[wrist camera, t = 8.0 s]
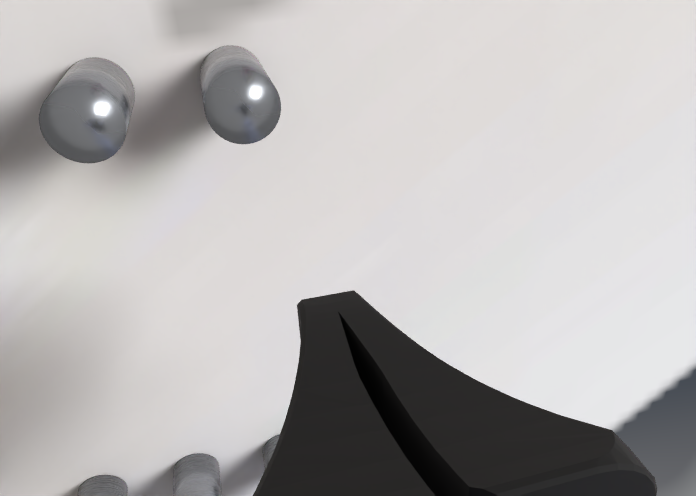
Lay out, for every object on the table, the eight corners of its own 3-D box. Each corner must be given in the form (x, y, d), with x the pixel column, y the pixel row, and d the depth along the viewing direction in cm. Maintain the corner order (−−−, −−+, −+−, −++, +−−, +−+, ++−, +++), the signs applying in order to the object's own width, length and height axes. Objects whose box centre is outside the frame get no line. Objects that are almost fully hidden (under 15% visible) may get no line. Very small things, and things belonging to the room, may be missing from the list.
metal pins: (307, 459, 27) (322, 523, 24) (85, 511, 25) (73, 588, 22) (260, 42, 18) (276, 65, 15) (-101, 74, 16) (-165, 108, 13)
